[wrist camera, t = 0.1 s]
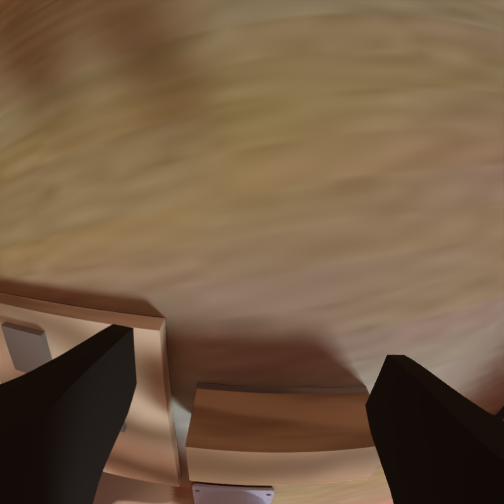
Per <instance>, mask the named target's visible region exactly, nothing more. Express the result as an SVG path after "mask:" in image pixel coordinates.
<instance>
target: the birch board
mask: <svg viewBox="0 0 504 504" xmlns="http://www.w3.org/2000/svg"><path fill="white" fill-rule="evenodd" d="M4 322H9V323H12V324H16V325H20V326H24V327H28V328H32V329H36V330H41V331H45V334H46V338H47V342H48V346H49V349H50V353H51V356H52V360H53V359H54V358H56V357H58V356H60V355H62V354H63V353H65V352H67V351H68V350H70V349H72V348H73V347H75V346H77V345H78V344H80V343H82V342H83V341H85V340H87V339H88V338H90V337H92V336H93V335H95V334H96V333H98V332H100V331H101V330H103V329H105V328H106V327H108V326H110V325H112V324H116V325H121V326H126V327H131V328H133V329H134V349H135V365H136V378H137V385H136V389H135V392H134V396H133V399H132V402H131V406H130V409H129V412H128V415H127V417H126V419H125V424H126V430H125V432H120V433H119V435H118V437H117V440H116V442H115V444H114V446H113V449H112V451H111V453H110V455H109V458H108V460H107V462H106V465H105V467H104V469H103V471H104V472H108V473H112V474H115V475H120V476H124V477H128V478H133V479H138V480H143V481H147V482H153V483H158V484H164V485H170V486H176V487H180V481H181V469H180V462H179V455H178V448H177V441H176V434H175V426H174V417H173V409H172V399H171V389H170V379H169V367H168V354H167V340H166V323H165V318H159V317H150V316H142V315H134V314H126V313H118V312H111V311H104V310H97V309H90V308H84V307H77V306H71V305H65V304H59V303H53V302H47V301H42V300H36V299H31V298H26V297H21V296H16V295H11V294H6V293H1V292H0V380H1V382H2V383H5V382H7V381H10V380H12V379H15V378H17V377H19V376H22V375H24V374H26V373H24V372H21V371H18V370H15V367H14V365H13V362H12V359H11V356H10V353H9V350H8V347H7V344H6V341H5V338H4V334H3V331H2V328H1V325H2V324H3V323H4Z"/></svg>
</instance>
